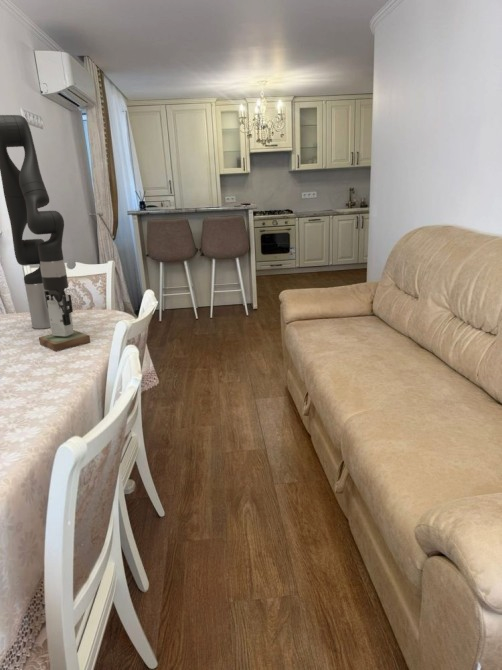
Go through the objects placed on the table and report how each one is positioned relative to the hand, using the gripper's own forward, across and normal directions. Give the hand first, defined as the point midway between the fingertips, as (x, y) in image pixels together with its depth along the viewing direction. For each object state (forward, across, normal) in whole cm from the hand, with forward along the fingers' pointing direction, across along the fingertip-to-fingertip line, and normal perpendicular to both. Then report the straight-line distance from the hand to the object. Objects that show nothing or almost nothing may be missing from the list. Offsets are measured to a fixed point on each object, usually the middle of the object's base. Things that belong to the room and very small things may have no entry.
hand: (61, 322), depth 150 cm
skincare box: (+4, 0, 0) cm, 4 cm away
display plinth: (+7, 0, 0) cm, 7 cm away
